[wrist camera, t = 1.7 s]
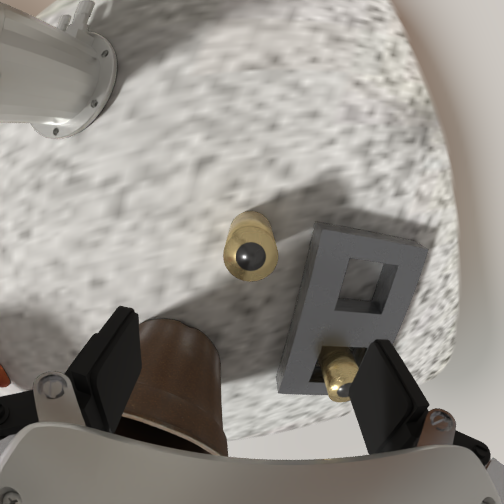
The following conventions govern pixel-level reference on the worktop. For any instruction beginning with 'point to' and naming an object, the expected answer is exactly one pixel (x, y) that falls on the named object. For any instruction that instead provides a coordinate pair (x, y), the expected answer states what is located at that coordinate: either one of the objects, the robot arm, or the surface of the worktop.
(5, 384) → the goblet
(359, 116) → the worktop surface
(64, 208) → the worktop surface
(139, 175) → the worktop surface
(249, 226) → the brass cylinder
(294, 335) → the jig
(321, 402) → the worktop surface
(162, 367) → the plant pot
